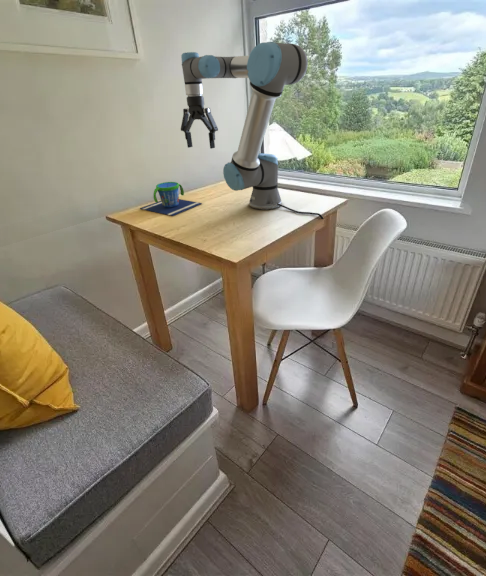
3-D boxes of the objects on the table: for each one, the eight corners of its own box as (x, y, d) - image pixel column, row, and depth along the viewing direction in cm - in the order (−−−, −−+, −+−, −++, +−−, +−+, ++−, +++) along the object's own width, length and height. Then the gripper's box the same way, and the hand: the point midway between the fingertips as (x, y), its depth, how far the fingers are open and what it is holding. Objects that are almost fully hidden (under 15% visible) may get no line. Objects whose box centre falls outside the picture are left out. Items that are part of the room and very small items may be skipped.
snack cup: (160, 211, 150) (156, 189, 145) (151, 206, 157) (147, 185, 152) (190, 204, 158) (187, 183, 153) (180, 200, 165) (177, 179, 160)
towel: (201, 204, 160) (201, 203, 160) (172, 216, 146) (172, 215, 145) (170, 198, 170) (169, 197, 170) (140, 209, 156) (139, 208, 156)
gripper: (222, 94, 140) (227, 147, 151) (179, 96, 151) (186, 145, 162) (212, 94, 134) (217, 149, 145) (168, 97, 145) (176, 147, 156)
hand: (201, 147), depth 154 cm, fingers open, 13 cm apart
